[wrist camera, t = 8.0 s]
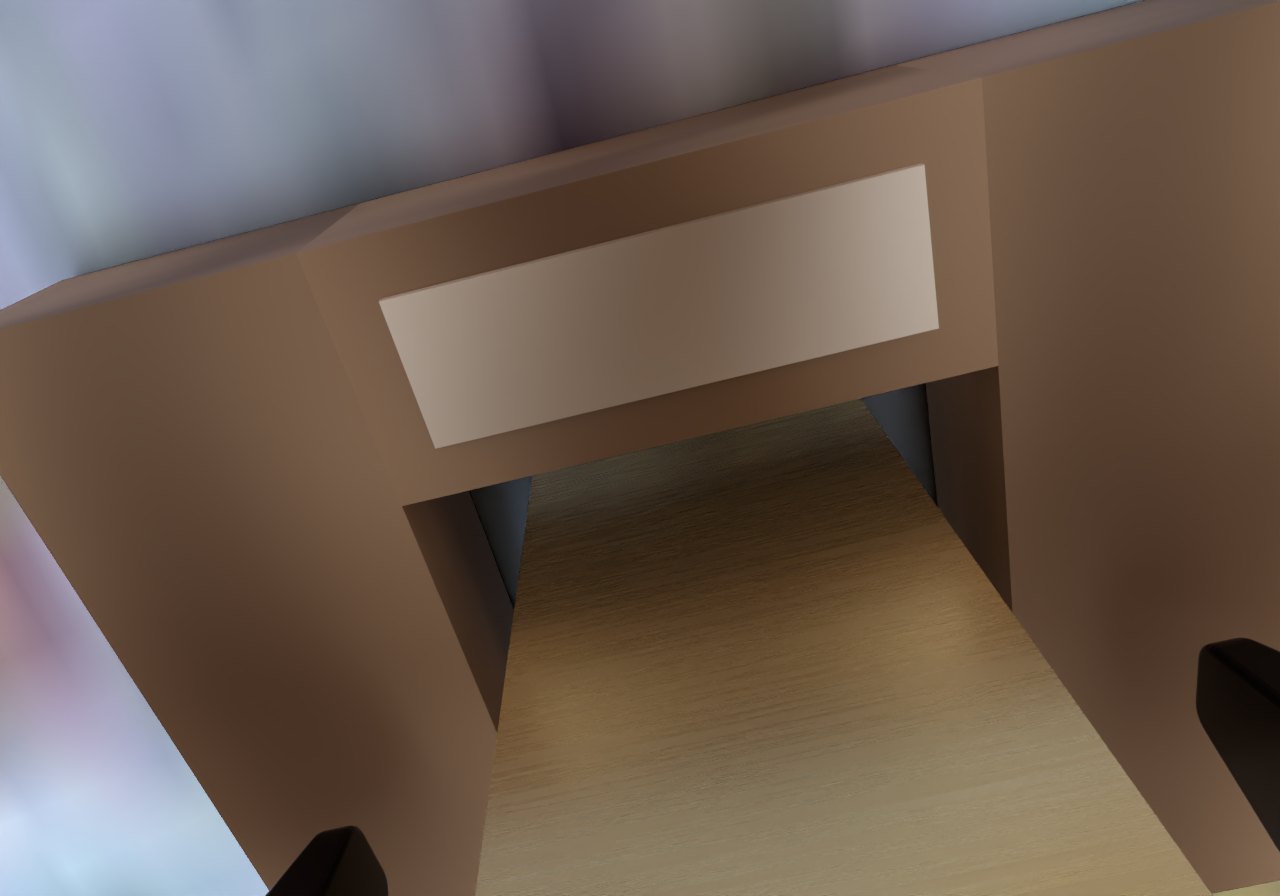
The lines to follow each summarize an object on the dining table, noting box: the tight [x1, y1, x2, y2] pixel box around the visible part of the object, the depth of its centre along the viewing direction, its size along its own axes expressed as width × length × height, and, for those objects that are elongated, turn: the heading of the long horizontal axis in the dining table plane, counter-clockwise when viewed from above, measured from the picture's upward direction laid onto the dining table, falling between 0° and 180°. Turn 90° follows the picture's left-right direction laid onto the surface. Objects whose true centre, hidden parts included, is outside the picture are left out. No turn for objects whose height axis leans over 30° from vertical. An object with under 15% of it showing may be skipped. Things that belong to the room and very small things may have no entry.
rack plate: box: [0, 0, 1280, 896], centre depth 12 cm, size 14×12×3 cm
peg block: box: [475, 399, 1213, 896], centre depth 9 cm, size 4×4×8 cm
